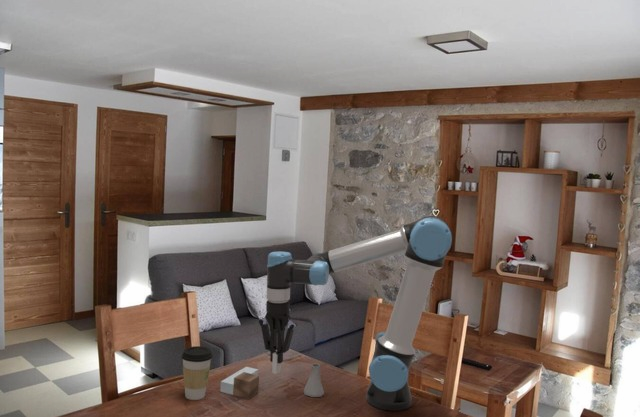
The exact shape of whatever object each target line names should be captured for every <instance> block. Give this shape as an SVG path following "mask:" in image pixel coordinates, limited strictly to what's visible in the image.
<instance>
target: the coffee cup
mask: <svg viewBox="0 0 640 417" xmlns="http://www.w3.org/2000/svg"><path fill="white" fill-rule="evenodd" d="M181 359H182V373H183V376H182V377H183V386H184V395H185V398H186V399H187V400H191V401H197V400H202V399H203V398H205V396H206V390H207V386H208V382H209V377H210V376H209V375H210V370H211V369H210V368H211V362H212V361H211V360H212V359H213V353H212V349H210V348H209V347H207V346H206V347H205V346H201V345H200V346H195V345H194V346H189V347H187V348H184V350H183V352H182V354H181Z"/></svg>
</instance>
